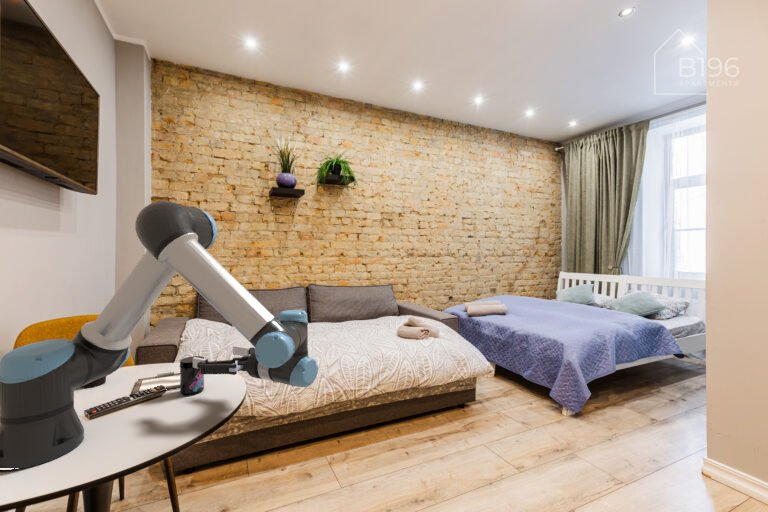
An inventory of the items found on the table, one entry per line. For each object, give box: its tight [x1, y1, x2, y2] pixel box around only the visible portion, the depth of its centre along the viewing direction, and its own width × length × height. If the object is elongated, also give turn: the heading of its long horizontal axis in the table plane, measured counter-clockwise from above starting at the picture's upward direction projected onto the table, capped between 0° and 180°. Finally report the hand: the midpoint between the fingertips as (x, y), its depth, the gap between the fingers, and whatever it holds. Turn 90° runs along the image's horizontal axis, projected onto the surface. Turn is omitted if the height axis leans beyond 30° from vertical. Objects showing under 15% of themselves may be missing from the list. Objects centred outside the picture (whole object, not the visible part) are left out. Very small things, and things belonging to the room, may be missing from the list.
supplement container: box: [179, 355, 205, 397], centre depth 108 cm, size 7×7×10 cm
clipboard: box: [132, 371, 180, 394], centre depth 115 cm, size 14×16×2 cm
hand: (214, 355), depth 104 cm, fingers open, 13 cm apart
